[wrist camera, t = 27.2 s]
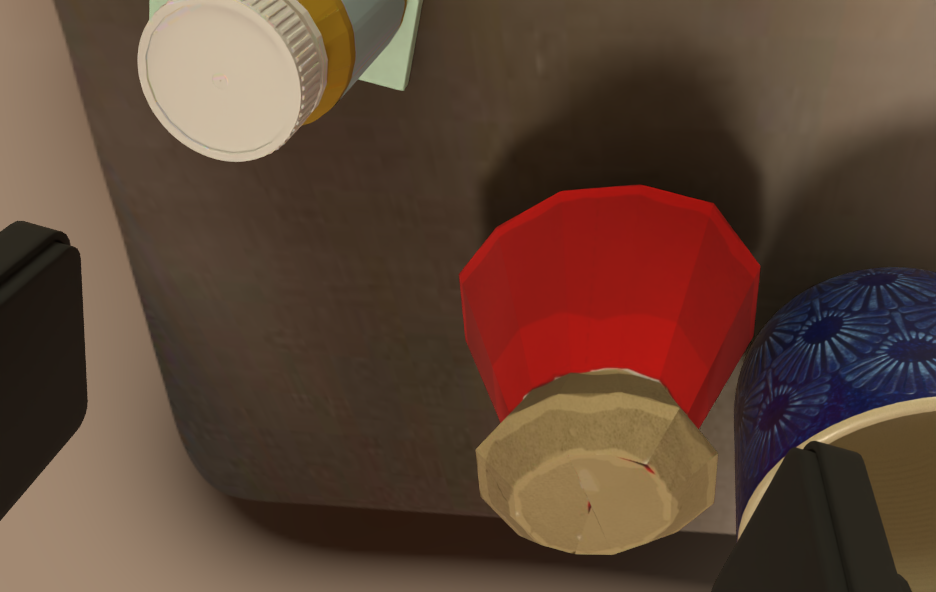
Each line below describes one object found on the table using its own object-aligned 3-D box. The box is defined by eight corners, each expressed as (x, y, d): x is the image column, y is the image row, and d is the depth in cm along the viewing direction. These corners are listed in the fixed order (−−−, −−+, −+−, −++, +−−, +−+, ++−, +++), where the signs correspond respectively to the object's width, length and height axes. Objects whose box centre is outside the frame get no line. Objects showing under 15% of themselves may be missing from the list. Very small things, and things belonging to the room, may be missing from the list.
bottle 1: (426, -61, 42) (331, 20, 29) (391, 75, 46) (294, 198, 33) (287, -110, 42) (132, -51, 29) (264, 30, 45) (118, 136, 33)
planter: (1097, 264, 46) (1274, 462, 33) (942, 491, 55) (1032, 715, 42) (777, 186, 46) (827, 350, 34) (676, 423, 56) (686, 623, 43)
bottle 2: (716, 98, 45) (760, 307, 28) (776, 313, 50) (842, 593, 34) (438, 186, 50) (333, 407, 33) (521, 372, 56) (469, 639, 39)
